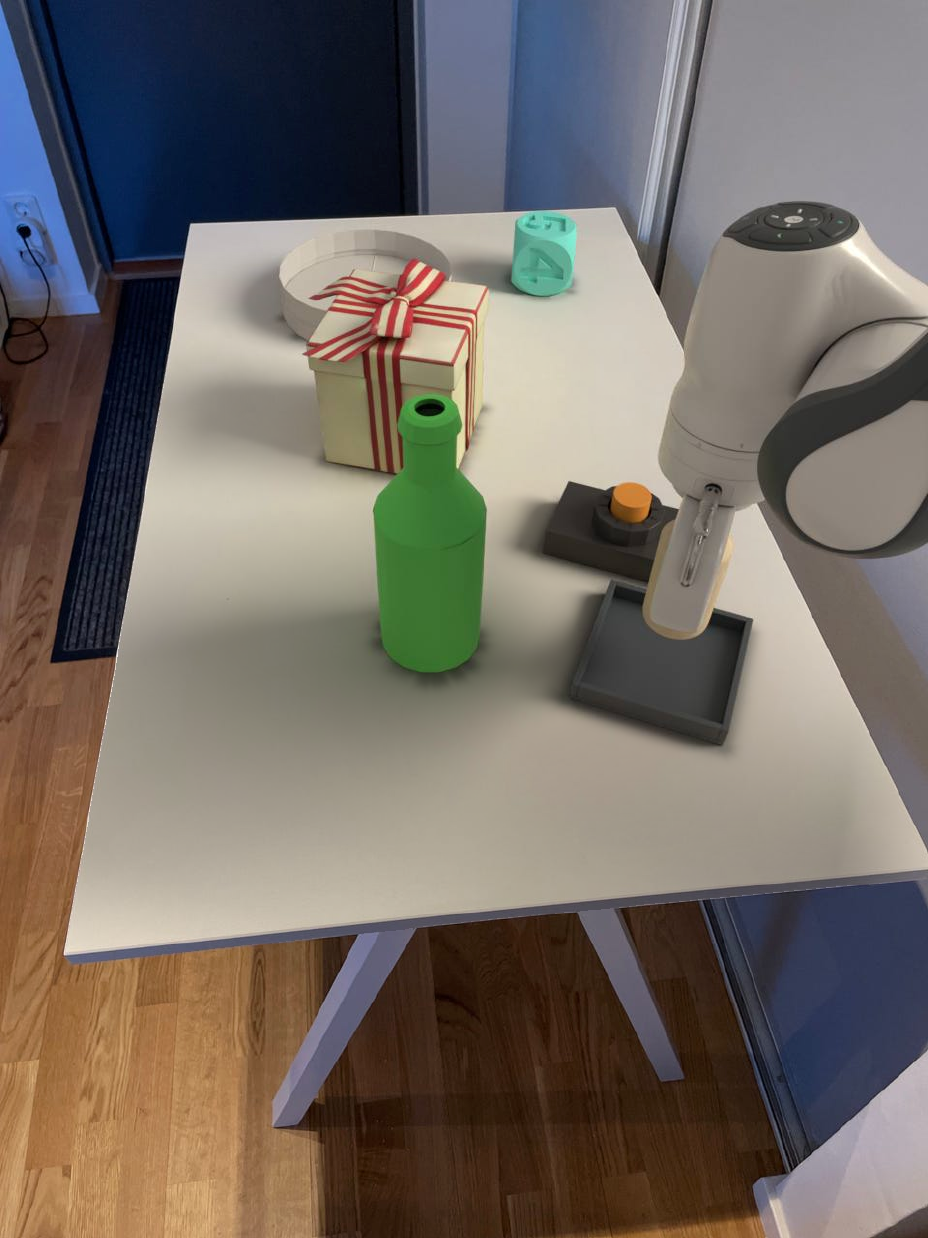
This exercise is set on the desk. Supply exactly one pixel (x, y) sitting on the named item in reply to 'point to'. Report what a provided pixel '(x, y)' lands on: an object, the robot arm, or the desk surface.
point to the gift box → (395, 359)
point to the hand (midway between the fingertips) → (684, 585)
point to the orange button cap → (630, 502)
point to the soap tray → (662, 667)
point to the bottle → (430, 544)
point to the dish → (344, 268)
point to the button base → (605, 532)
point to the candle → (654, 577)
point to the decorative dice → (544, 253)
